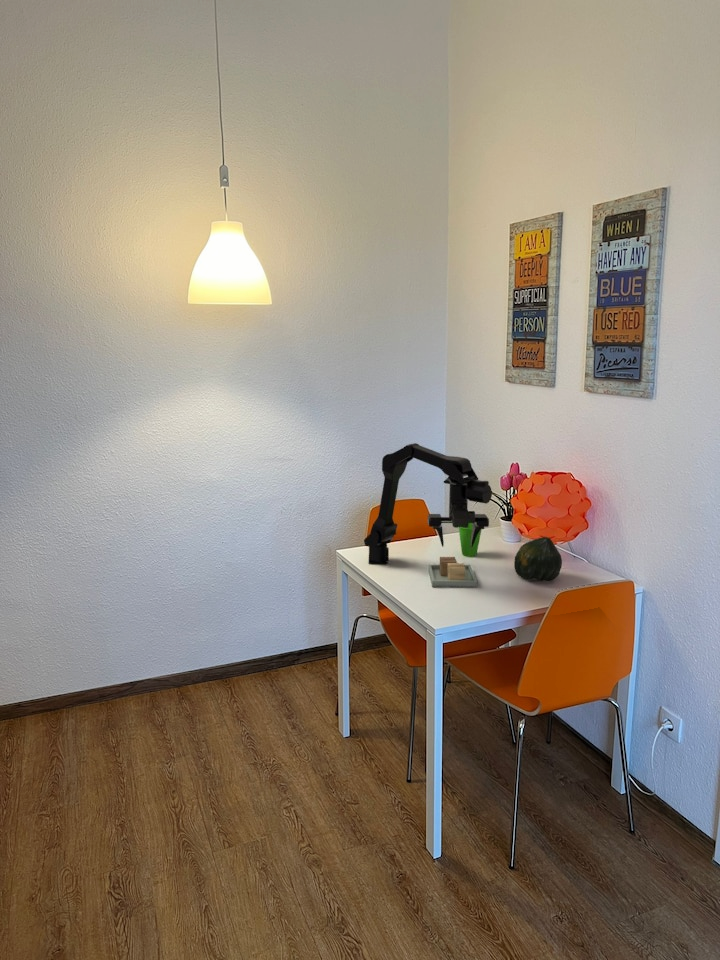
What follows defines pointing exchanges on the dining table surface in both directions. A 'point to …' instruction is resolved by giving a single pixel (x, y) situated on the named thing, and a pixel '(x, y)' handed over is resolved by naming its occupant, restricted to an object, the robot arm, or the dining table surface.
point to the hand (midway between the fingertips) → (457, 546)
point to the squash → (538, 560)
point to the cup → (468, 541)
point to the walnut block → (445, 564)
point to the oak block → (456, 571)
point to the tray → (444, 582)
